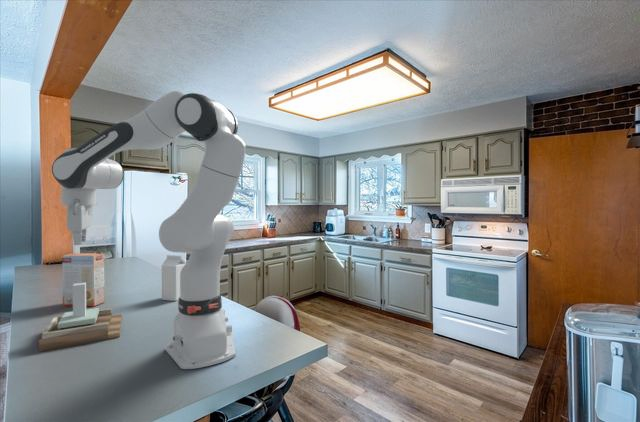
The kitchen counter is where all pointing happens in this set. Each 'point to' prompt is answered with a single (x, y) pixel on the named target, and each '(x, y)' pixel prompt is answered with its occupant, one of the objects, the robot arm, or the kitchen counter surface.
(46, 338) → the tray
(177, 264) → the milk carton
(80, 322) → the mint green slab
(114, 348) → the kitchen counter surface
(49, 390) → the kitchen counter surface
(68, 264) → the cracker box
